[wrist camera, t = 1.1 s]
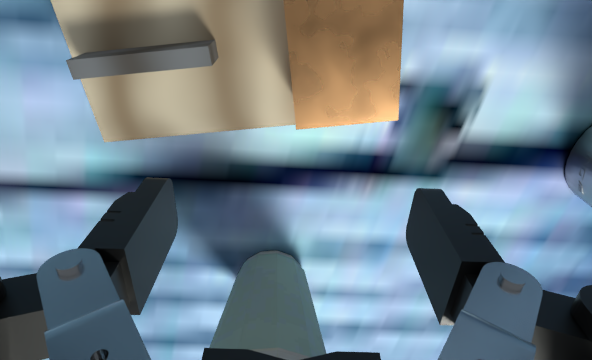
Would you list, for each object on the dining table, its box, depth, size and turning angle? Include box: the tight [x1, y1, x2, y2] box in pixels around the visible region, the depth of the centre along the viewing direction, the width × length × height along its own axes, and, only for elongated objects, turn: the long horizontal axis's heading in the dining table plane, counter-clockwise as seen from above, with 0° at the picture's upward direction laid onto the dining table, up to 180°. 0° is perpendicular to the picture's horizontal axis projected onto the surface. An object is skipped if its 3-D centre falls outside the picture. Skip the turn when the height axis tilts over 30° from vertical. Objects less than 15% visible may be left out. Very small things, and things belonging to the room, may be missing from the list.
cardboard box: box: [283, 0, 404, 130], centre depth 22 cm, size 8×6×6 cm
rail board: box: [51, 0, 296, 142], centre depth 25 cm, size 22×12×4 cm, turn 95°
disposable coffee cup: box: [209, 250, 326, 360], centre depth 31 cm, size 11×11×15 cm
